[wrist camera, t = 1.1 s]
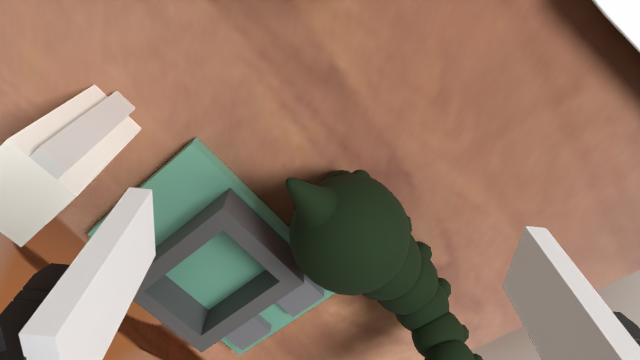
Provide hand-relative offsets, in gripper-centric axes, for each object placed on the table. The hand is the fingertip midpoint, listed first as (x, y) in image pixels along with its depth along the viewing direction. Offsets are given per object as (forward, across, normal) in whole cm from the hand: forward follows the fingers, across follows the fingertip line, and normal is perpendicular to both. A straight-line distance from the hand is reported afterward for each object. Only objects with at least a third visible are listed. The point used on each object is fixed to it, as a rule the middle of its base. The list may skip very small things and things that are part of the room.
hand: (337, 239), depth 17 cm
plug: (+24, -19, -7) cm, 31 cm away
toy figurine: (+24, +7, -15) cm, 29 cm away
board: (+24, -8, -19) cm, 31 cm away
